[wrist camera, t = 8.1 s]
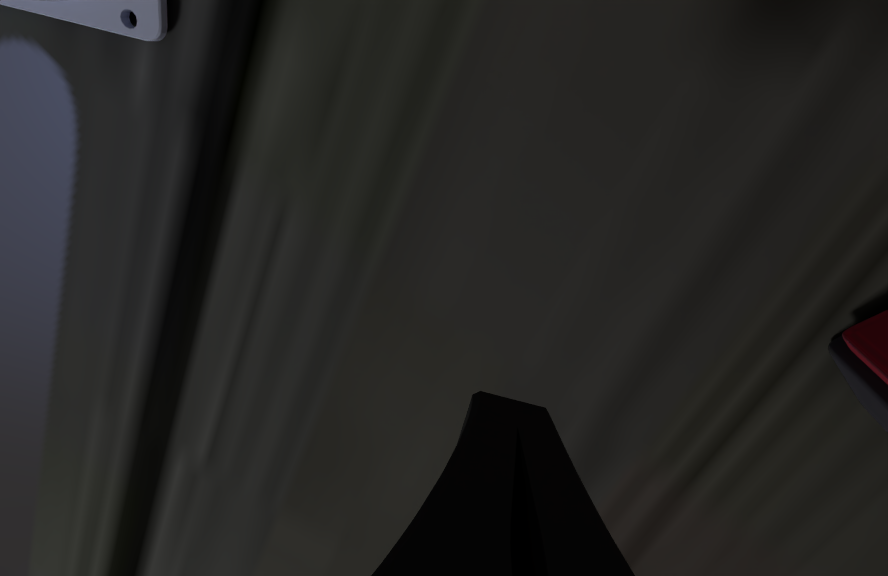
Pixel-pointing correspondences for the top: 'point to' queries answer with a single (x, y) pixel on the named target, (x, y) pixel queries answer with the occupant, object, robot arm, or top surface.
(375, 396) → the top surface
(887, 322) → the grey and red box
